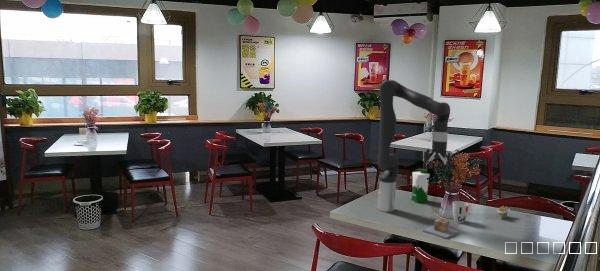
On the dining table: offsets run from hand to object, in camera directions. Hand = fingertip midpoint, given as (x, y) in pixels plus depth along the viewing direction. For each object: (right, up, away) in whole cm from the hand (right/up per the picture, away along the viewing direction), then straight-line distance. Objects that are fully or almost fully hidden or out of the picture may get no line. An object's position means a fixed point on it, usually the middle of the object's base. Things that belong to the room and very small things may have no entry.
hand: (438, 169), depth 233 cm
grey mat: (-3, -31, -14) cm, 34 cm away
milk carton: (+1, -23, +38) cm, 45 cm away
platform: (+39, -28, +9) cm, 49 cm away
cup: (+12, -28, +2) cm, 31 cm away
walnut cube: (-3, -30, -14) cm, 33 cm away
